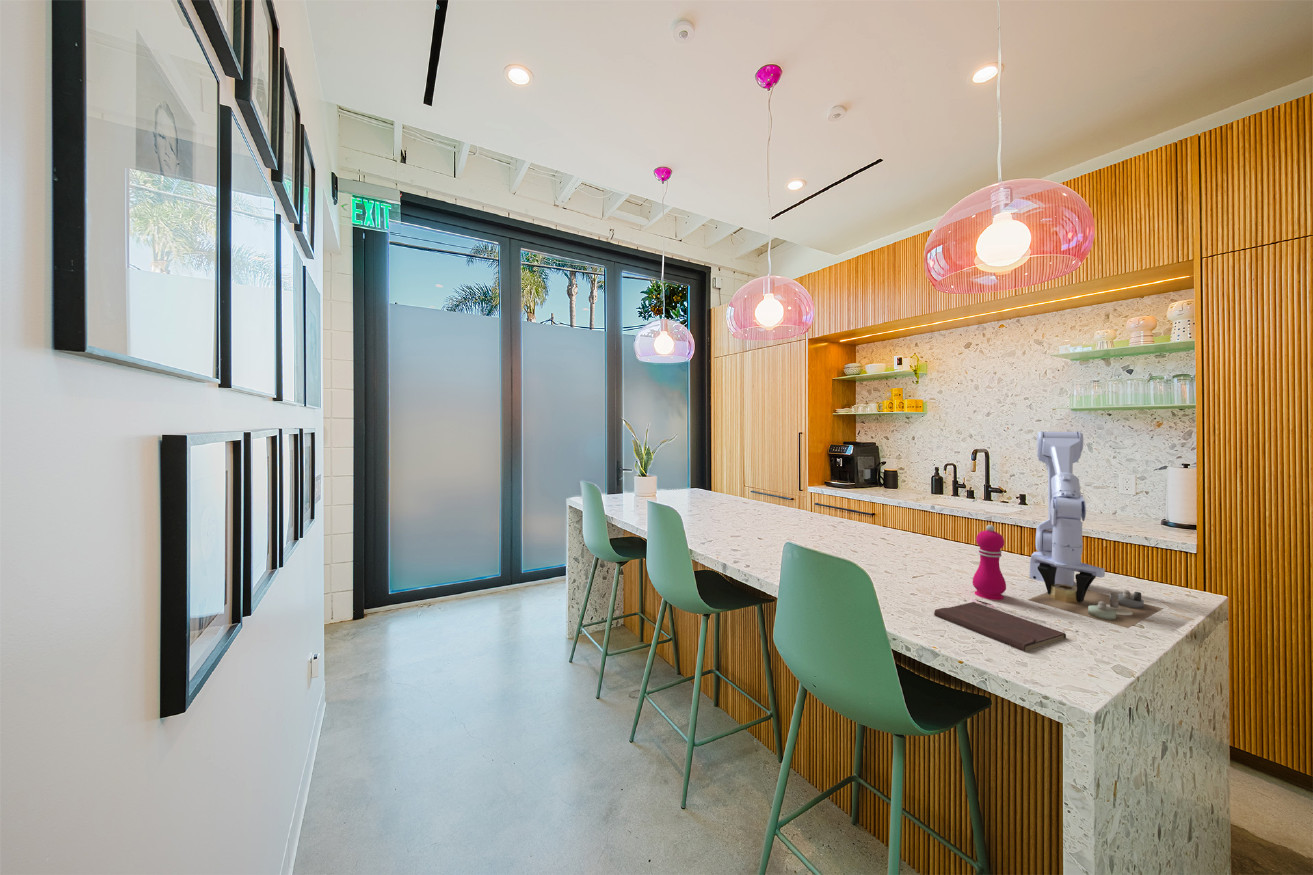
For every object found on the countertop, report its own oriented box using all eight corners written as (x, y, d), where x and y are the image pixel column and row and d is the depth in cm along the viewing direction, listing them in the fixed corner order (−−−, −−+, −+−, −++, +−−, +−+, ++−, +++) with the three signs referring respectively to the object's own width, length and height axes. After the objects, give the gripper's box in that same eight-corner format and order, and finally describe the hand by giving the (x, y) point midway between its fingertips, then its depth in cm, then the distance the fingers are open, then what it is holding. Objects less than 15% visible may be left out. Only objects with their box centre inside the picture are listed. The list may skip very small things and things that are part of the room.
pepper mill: (1011, 607, 121) (1013, 528, 120) (979, 605, 123) (981, 527, 122) (997, 596, 128) (999, 522, 127) (967, 594, 130) (968, 521, 129)
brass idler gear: (1047, 597, 124) (1047, 585, 123) (1057, 593, 126) (1057, 582, 126) (1073, 604, 119) (1074, 592, 119) (1083, 600, 122) (1083, 588, 121)
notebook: (974, 607, 122) (974, 599, 122) (1066, 640, 104) (1066, 631, 104) (934, 617, 116) (934, 609, 116) (1023, 653, 98) (1024, 644, 98)
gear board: (1027, 605, 122) (1027, 583, 122) (1066, 590, 133) (1066, 569, 133) (1127, 634, 106) (1128, 608, 105) (1163, 614, 116) (1163, 591, 116)
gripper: (1025, 540, 126) (1024, 591, 127) (1096, 553, 114) (1095, 610, 114) (1038, 536, 130) (1037, 586, 130) (1109, 549, 117) (1107, 604, 118)
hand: (1065, 597), depth 123 cm, fingers closed on brass idler gear, 5 cm apart
